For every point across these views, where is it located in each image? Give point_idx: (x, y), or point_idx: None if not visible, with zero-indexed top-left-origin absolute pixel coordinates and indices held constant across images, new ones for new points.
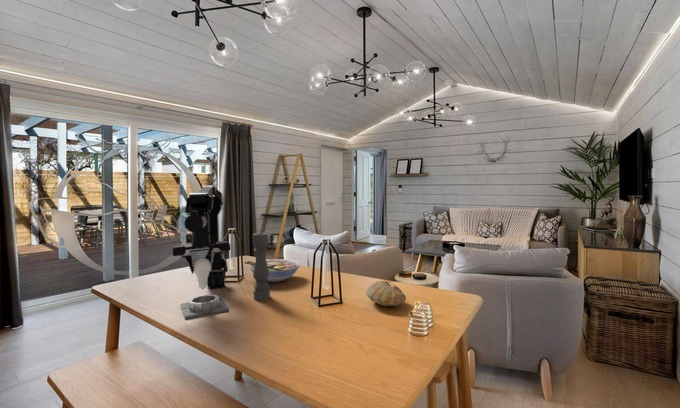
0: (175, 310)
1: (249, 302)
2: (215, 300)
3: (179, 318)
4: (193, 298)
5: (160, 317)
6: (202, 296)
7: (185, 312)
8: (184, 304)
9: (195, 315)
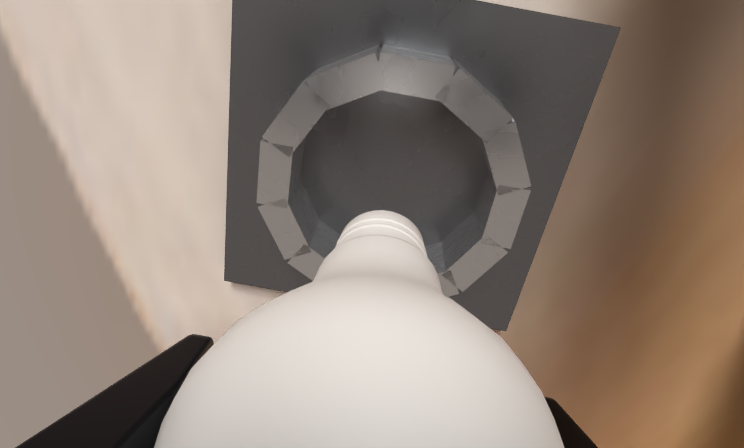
0: (191, 35)
1: (711, 268)
2: (449, 295)
3: (202, 228)
4: (317, 111)
5: (83, 120)
6: (413, 94)
7: (238, 213)
8: (263, 6)
9: (290, 289)
